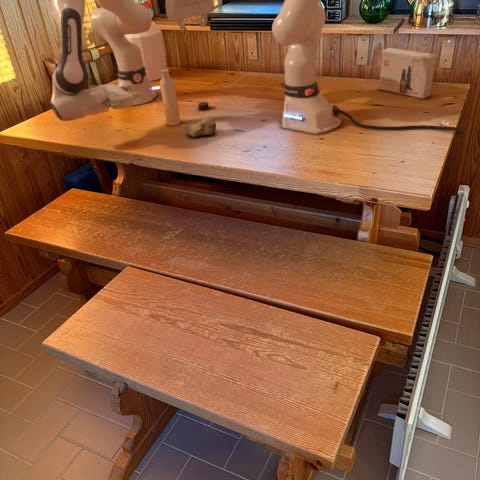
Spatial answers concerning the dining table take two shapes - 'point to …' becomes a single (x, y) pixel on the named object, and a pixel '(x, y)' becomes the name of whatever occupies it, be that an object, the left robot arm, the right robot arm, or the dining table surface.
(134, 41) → the container
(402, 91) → the skincare box
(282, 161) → the dining table surface
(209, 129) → the rock
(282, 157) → the dining table surface
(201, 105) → the cap
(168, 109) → the bottle
